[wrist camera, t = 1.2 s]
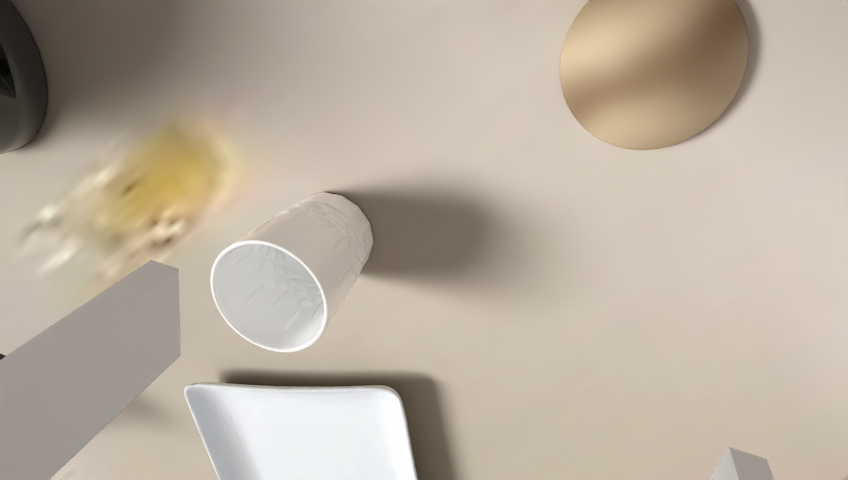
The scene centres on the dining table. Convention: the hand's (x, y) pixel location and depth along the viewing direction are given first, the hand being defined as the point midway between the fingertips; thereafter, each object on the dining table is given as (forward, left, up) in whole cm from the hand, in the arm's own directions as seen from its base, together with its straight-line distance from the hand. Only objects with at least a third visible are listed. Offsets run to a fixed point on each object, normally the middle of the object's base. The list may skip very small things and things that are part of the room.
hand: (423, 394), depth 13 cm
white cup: (-4, -16, -26) cm, 31 cm away
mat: (+2, +8, -26) cm, 27 cm away
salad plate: (+11, -35, -27) cm, 46 cm away
